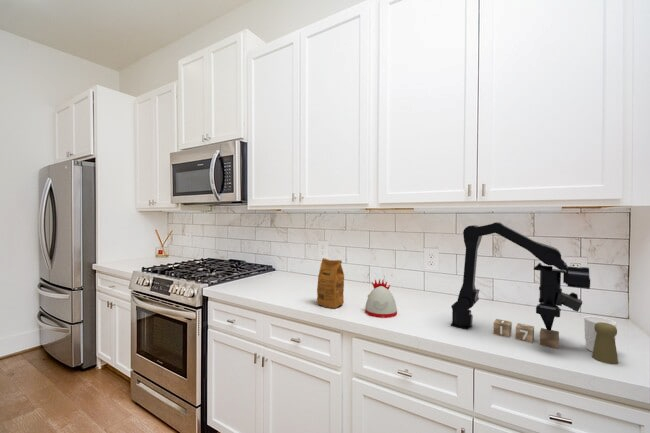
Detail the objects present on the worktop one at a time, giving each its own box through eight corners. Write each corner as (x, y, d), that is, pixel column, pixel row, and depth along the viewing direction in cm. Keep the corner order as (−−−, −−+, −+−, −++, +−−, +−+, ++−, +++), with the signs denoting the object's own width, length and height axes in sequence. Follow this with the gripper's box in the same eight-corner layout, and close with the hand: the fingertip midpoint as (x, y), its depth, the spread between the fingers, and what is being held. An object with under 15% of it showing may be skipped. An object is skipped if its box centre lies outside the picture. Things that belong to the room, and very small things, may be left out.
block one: (493, 334, 113) (493, 322, 113) (496, 330, 117) (496, 318, 117) (509, 338, 110) (509, 325, 110) (511, 333, 114) (511, 321, 114)
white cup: (620, 358, 96) (621, 326, 95) (589, 353, 98) (590, 322, 98) (608, 347, 103) (609, 318, 103) (579, 343, 106) (580, 314, 106)
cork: (605, 354, 98) (605, 320, 98) (624, 364, 92) (625, 327, 91) (586, 354, 97) (587, 320, 97) (604, 364, 91) (605, 327, 91)
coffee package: (326, 300, 155) (326, 256, 155) (346, 305, 147) (347, 259, 147) (313, 304, 147) (313, 258, 147) (333, 310, 139) (334, 261, 139)
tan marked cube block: (515, 339, 109) (515, 326, 109) (517, 335, 113) (517, 322, 113) (532, 343, 106) (532, 330, 106) (533, 338, 110) (534, 326, 110)
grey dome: (365, 307, 145) (366, 275, 144) (395, 308, 142) (396, 276, 142) (364, 316, 131) (364, 281, 131) (397, 319, 129) (398, 283, 128)
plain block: (539, 345, 104) (539, 332, 104) (540, 340, 108) (541, 327, 108) (558, 349, 101) (558, 335, 101) (558, 344, 105) (559, 331, 105)
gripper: (581, 294, 92) (579, 345, 93) (580, 283, 107) (579, 328, 107) (536, 287, 99) (535, 336, 100) (541, 278, 114) (540, 320, 114)
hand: (549, 330), depth 105 cm, fingers closed
